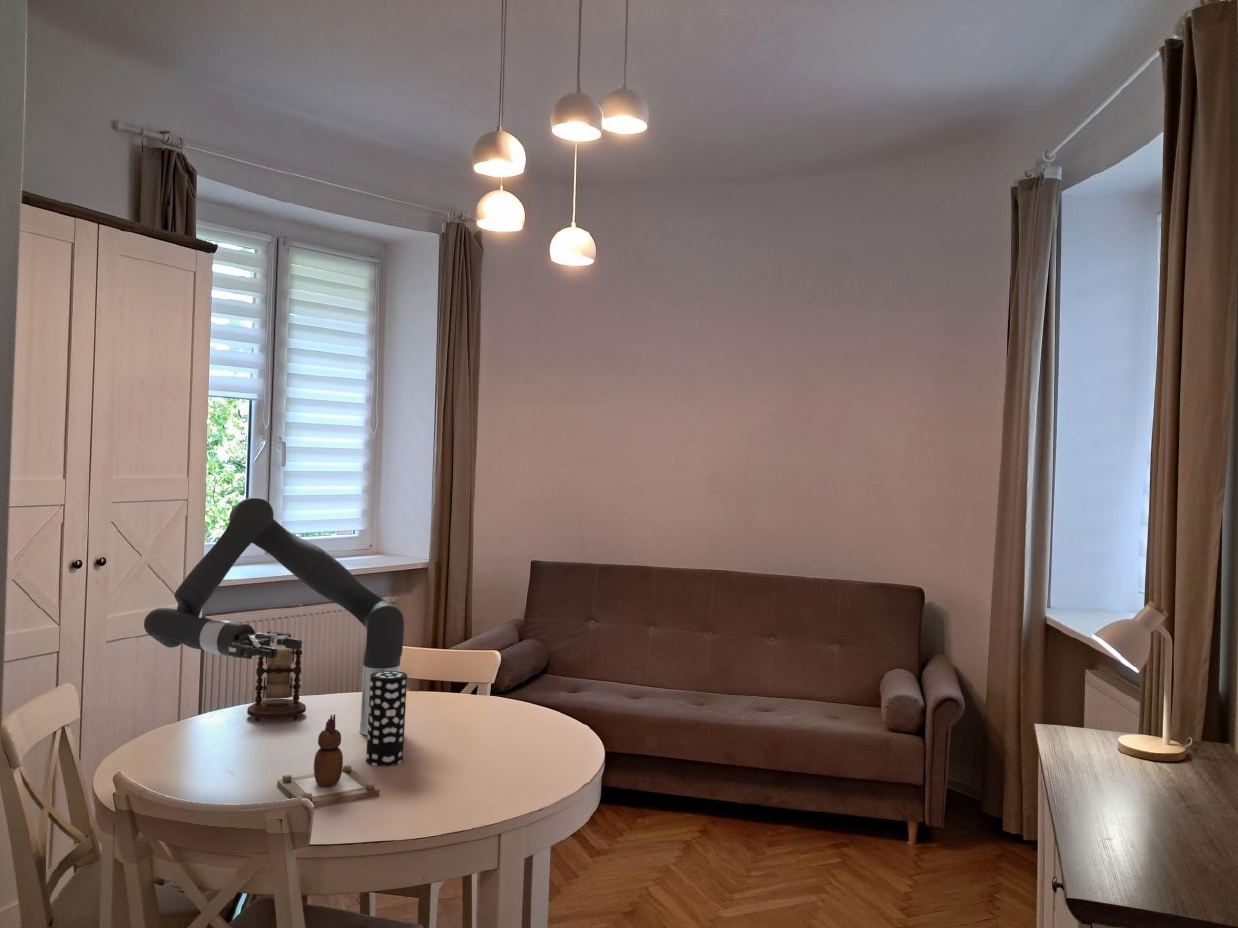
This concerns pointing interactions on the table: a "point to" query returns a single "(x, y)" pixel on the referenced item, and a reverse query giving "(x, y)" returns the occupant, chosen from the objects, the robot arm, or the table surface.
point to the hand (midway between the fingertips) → (288, 649)
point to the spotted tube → (386, 718)
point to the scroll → (278, 687)
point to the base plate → (328, 788)
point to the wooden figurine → (328, 756)
